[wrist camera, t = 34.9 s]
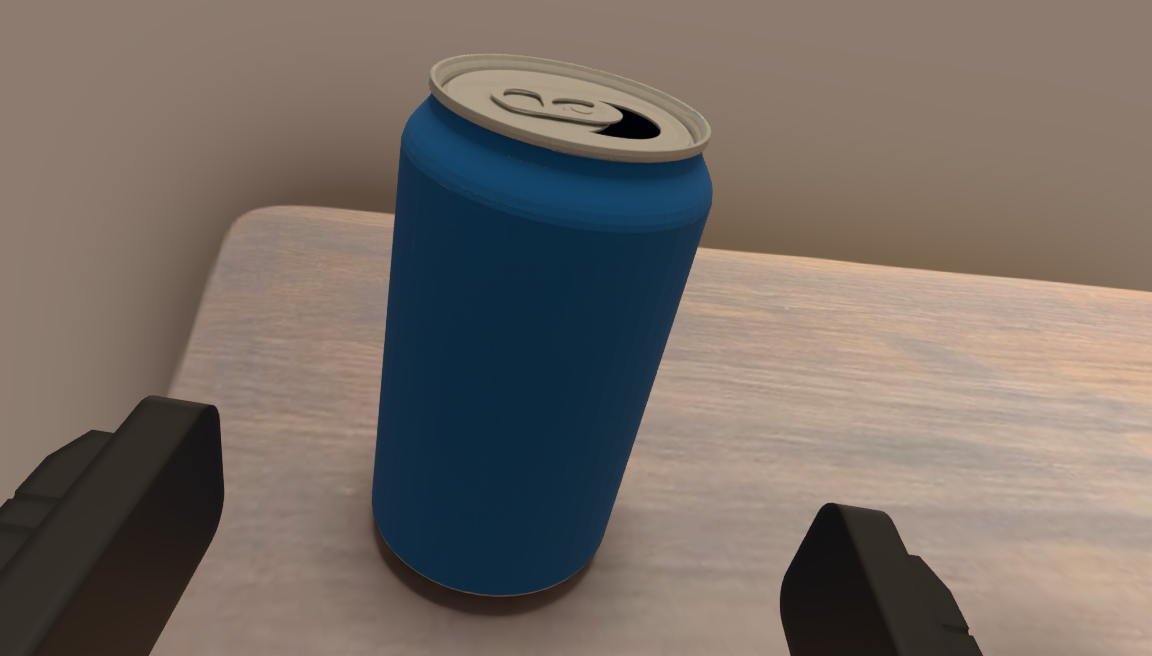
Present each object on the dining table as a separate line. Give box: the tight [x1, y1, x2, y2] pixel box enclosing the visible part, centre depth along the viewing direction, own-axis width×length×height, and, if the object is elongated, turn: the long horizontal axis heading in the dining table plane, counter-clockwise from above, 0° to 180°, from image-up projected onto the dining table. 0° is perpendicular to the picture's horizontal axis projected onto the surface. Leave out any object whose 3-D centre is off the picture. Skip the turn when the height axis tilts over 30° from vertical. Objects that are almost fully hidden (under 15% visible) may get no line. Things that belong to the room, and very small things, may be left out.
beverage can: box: [372, 54, 712, 597], centre depth 18 cm, size 6×6×12 cm
